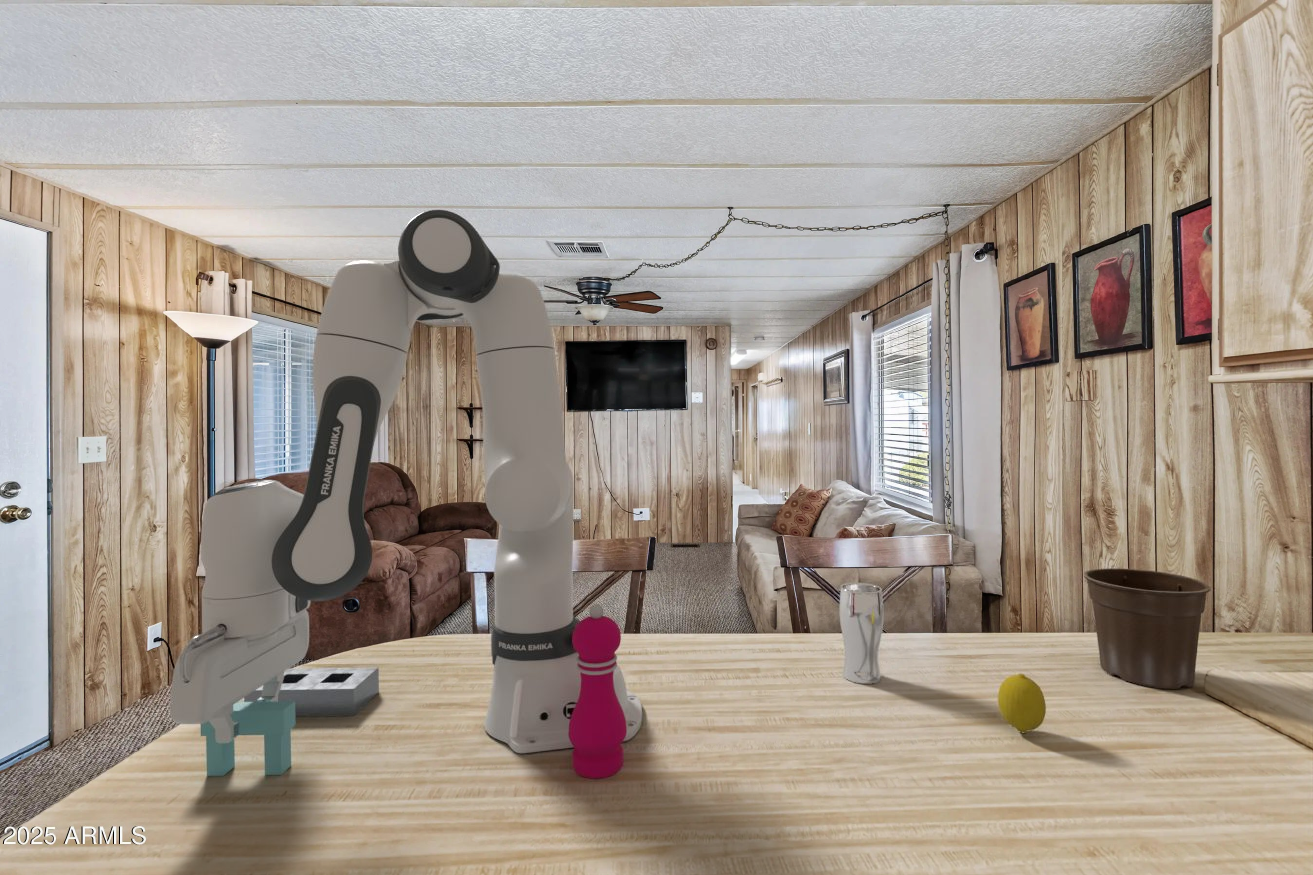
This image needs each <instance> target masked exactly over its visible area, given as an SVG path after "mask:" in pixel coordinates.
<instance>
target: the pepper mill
mask: <svg viewBox="0 0 1313 875" xmlns="http://www.w3.org/2000/svg"><path fill="white" fill-rule="evenodd" d="M588 613H589V615H590V616H586V617H584V618H583V619H581V620H580V622H579V623H578V624H577V625H576V627H575V629H574V632H573V637H572V642H573V647H574V649H575V650H576V652H577V653H578V654H579V655H578V657H577V662H578V664H577V670H578V671H579V672H580V674H581V690H580V695H579V699H578V701H577V704H576V706H575V708H574V710H573V713H572V715H571V719H570V722H569V732H568V735H569V739H570V742H571V743H572V745H573V746H574V747H573V748H574V749H573V750H572V767H573V770H574V772H575V773H576V774H578V775H579V776H581V777H584V778H588V779H601V778H602V779H603V778H604V779H605V778H608V777H611V776H613V775H615V774H617V773H618V772H619V771H620V770H621V769H622V767H623V765H624V748H623V746H622V745H621V744H623V742H624V741H623V740H624V738H625V736H626V733H627V727H626V719H625V716H624V712H623V710H622V707H621V705H620V703H619V701H618V698H617V696H616V693H615V689H614V682H613V674H614V670H615V669H616V668H617V665H618V663H617V660H618V655H617V654H616V651H617V650H618V649H619V647H620V645H621V641H622V636H621V635H622V634H621V630H620V627H619V625H618V624H617V623H616V621H615V620H614V619H612V618H610V617H608V616H605V615H604V608H603V606H602V605H601V604H597V603H594V604H593V605H591V606H590V608H589V611H588Z"/></svg>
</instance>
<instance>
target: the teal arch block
mask: <svg viewBox="0 0 1313 875" xmlns="http://www.w3.org/2000/svg"><path fill="white" fill-rule="evenodd" d="M230 716H231V718H232V721H233V722H239V735H238V736H263V739H264V741H263V745H264V746H263V747H264V749H263V750H264V751H263V752H264V775H265V776H278V775H279V776H280V775H281V776H282V775H283V774H284V773H285V772H286V771H287V770H288V769H289V768H290V767H291V766H292V738H291V735H292V734H291V729H293V728H294V727H295V726H296V725H297V724H296V717H295V701H277V702H244V701H238V702H237V703H235V704H233V713H231V714H230ZM200 737H205V748H206V749H205V750H206V752H205V753H206V758H205V759H206V776H207V777H221V776H223V777H224V776H225V775H227V774H228V772H230V771H231V770H232V769H234V768H235V767H236V764H235V762H236V761H235V760H236V759H235V756H236V755H235V739H233V740H232V741H230V742H229V743H217V742H216V738H215V729H214V727H213V726H212V725H211V723H210V722H209V721H208V722H206V723H202V724H200Z"/></svg>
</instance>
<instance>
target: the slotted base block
mask: <svg viewBox="0 0 1313 875" xmlns="http://www.w3.org/2000/svg"><path fill="white" fill-rule="evenodd" d="M379 684H380V681H379V666H377V667H376V666H373V667H371V666H370V667H365V666H364V667H318V668H317V667H313V668H310V667H309V668H307V667H304V668H300V667H299V668H288V669H287V670H285V671H284V679H283V682H282V685H281V688H280V691H279V694H278V701H295V718H300V717H304V718H305V717H306V718H307V717H311V718H312V717H355V716H356V715H357V714H358V713H359V712H360V711H361V710H362V709H363V708H364V707H365V706H366V705H367V704H369V702H370V701H371V700H372V699H374V697H375V696H376V695H378V694H379V692H380V689H379V688H380V685H379ZM262 690H263V685H262V686H261V687H259V688H258V689H256V690H255V691H253V692H252V693H250V694H249V695H247V696H246V697H244V698H243V702H257V699H259V698H260V697H261V694H262Z"/></svg>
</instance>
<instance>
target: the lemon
mask: <svg viewBox="0 0 1313 875" xmlns="http://www.w3.org/2000/svg"><path fill="white" fill-rule="evenodd" d="M997 705H998V708H999V712H1000V714H1001V716H1002V718H1003V719H1004V720H1005V721H1006V723H1008V725H1010V726H1012V727H1013V728H1015V729H1016V730H1017V731H1018V732H1019V731H1020V732H1025V733H1027V732H1028V731H1033V730H1035V729H1037V728H1039V727H1040V726H1042V724H1043V722H1044V719H1045V717H1046V711H1047V707H1046V699H1045V696H1044V694H1043V691H1042V689H1041V688H1040V686H1039V685H1038V683H1036V682H1035V681H1034V680H1033V679H1031V678H1029V677H1027V676H1026V675H1025V674H1024V673H1018V674H1015V675H1010V676H1009V677H1007V678H1005V679H1004V680H1003V681H1002V682H1001V684H1000V686H999V690H998V696H997ZM1020 732H1019V733H1020Z"/></svg>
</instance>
